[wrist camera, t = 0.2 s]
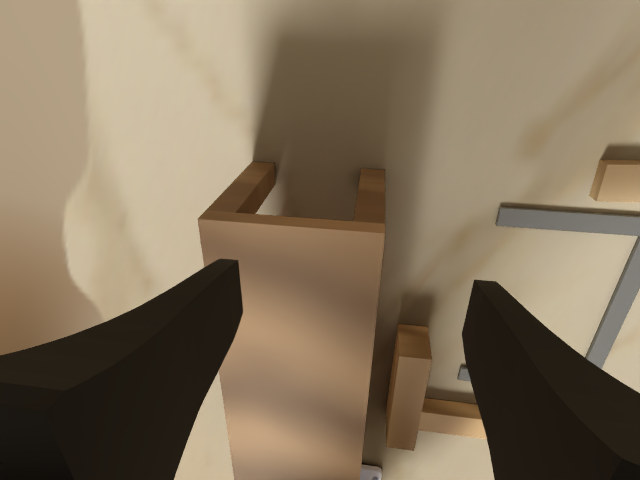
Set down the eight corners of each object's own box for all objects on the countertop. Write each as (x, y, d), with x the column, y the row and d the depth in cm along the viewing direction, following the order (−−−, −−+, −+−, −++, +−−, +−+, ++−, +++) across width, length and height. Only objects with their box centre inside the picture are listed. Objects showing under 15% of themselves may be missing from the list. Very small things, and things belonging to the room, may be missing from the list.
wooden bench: (360, 427, 30) (354, 534, 24) (268, 415, 31) (239, 515, 25) (384, 169, 21) (385, 233, 14) (252, 161, 22) (197, 219, 15)
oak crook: (385, 416, 29) (385, 502, 24) (397, 324, 25) (401, 402, 20) (684, 455, 27) (756, 559, 22) (751, 360, 23) (859, 459, 18)
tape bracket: (587, 392, 26) (589, 394, 25) (457, 377, 27) (458, 379, 26) (669, 217, 20) (671, 219, 20) (499, 206, 21) (500, 208, 21)
